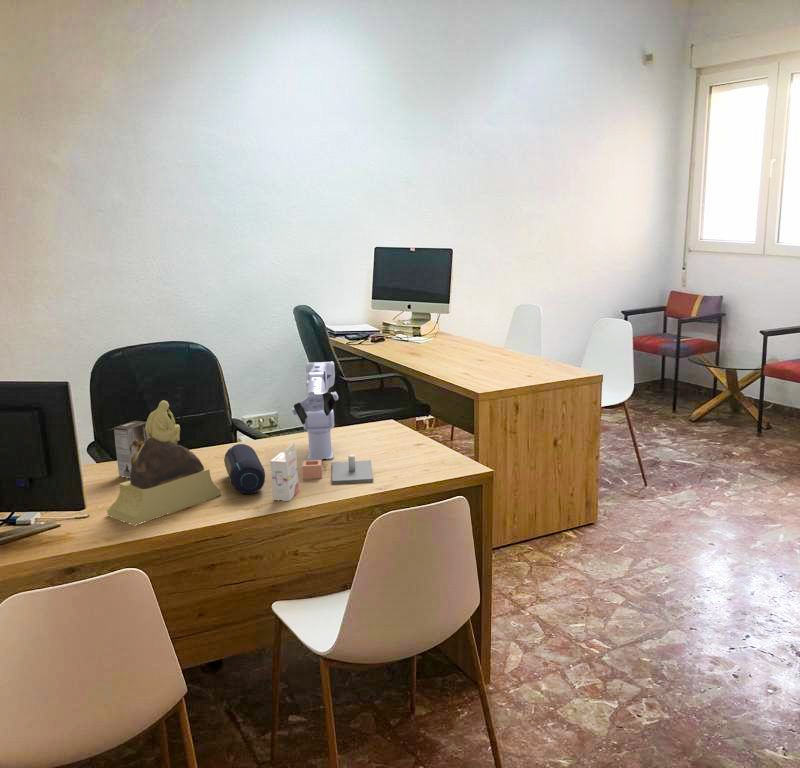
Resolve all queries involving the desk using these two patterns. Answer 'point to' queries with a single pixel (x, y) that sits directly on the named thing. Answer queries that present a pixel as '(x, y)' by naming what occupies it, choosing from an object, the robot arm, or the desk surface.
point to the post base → (352, 471)
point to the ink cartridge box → (285, 475)
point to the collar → (312, 469)
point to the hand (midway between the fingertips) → (314, 417)
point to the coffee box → (129, 444)
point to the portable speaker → (244, 469)
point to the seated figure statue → (162, 475)
